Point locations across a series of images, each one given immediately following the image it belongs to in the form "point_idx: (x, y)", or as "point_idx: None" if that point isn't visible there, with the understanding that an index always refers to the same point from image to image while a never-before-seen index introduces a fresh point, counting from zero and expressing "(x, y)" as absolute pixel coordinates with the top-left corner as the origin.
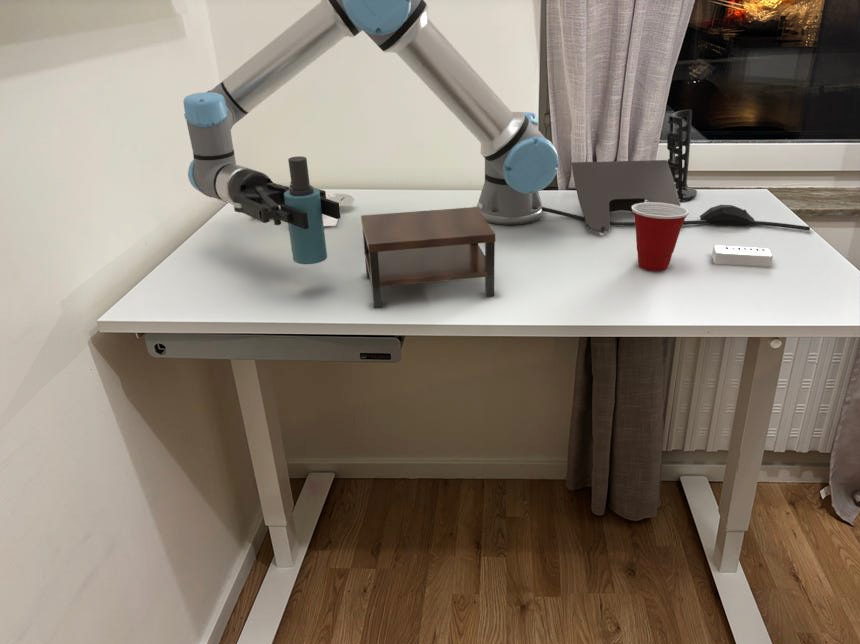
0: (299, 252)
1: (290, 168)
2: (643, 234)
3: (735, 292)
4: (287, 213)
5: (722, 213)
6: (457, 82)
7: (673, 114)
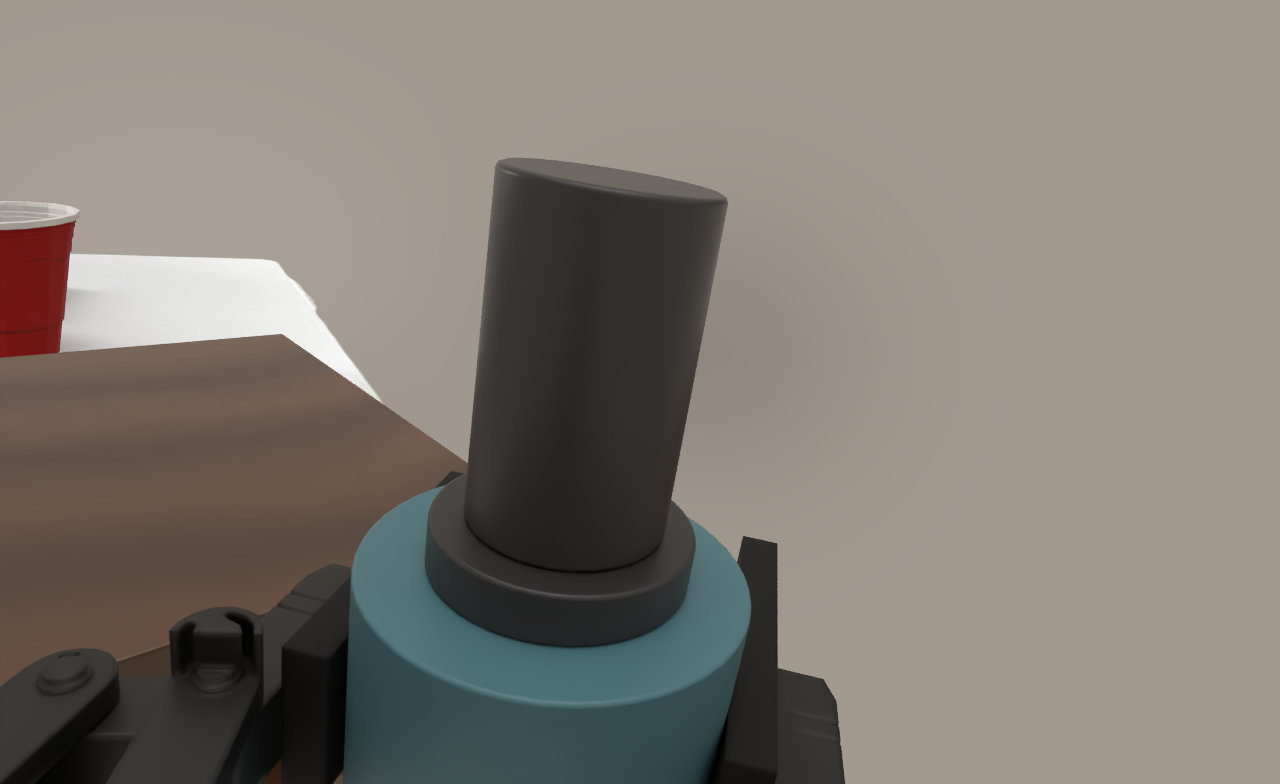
0: None
1: (707, 303)
2: (40, 277)
3: (180, 314)
4: (803, 684)
5: None
6: None
7: None
